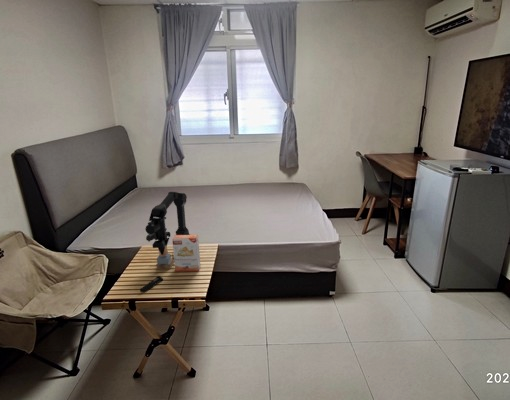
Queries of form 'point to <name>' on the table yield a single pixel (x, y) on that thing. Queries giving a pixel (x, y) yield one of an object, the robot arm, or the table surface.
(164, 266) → the tower base
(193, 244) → the cracker box
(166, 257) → the tower middle
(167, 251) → the terracotta cylinder
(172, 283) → the table surface
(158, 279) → the electric trimmer
